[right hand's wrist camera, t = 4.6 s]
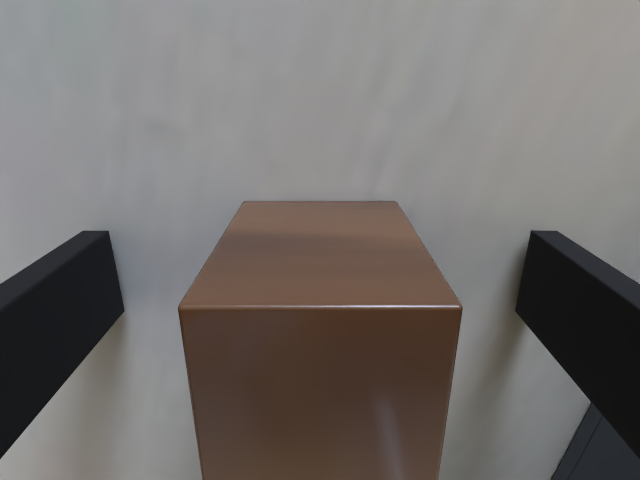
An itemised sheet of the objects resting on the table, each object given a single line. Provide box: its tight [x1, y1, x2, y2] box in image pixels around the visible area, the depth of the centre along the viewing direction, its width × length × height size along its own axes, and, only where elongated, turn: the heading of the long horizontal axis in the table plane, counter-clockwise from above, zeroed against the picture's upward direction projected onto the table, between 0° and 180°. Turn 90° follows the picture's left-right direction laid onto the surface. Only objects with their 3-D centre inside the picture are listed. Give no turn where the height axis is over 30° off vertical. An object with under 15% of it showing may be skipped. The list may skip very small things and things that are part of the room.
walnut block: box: [178, 201, 463, 480], centre depth 10 cm, size 4×4×6 cm
